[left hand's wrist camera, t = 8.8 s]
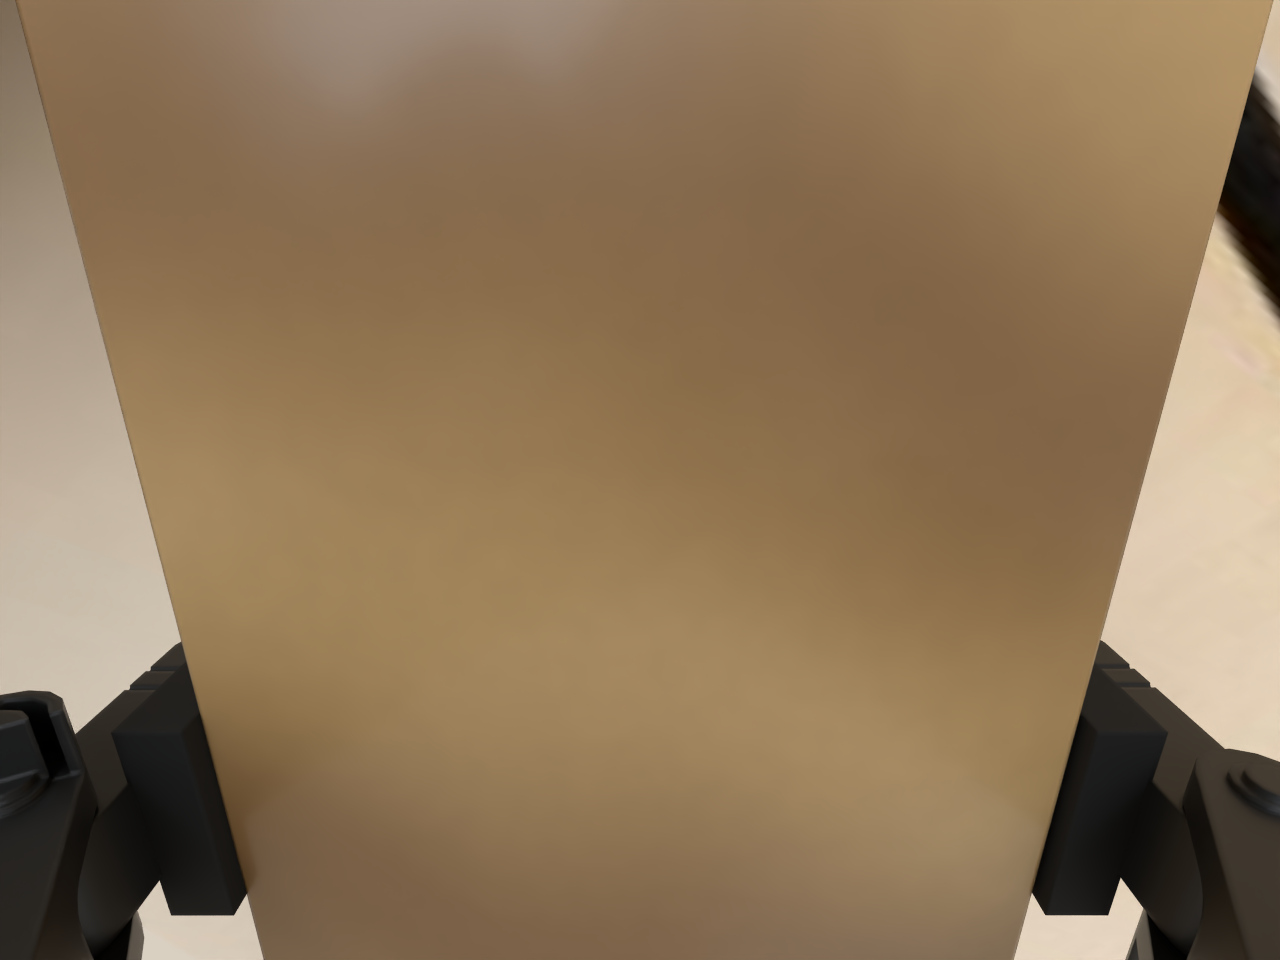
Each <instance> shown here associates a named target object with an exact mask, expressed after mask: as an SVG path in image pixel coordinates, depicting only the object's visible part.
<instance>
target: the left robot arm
mask: <svg viewBox="0 0 1280 960" xmlns="http://www.w3.org/2000/svg"><path fill="white" fill-rule="evenodd" d="M1120 878H1122V880H1123V881H1124V882H1125V884H1126V885H1127V887H1128V888H1129V889H1130V891H1131V892H1132V893H1133V895H1134V896H1135V897H1136V899H1137V900H1138V901H1139V903H1140V904H1141V905H1142V907H1143V911H1142V914H1141V917H1140V920H1139V923H1138V925H1137V928H1136V931H1135V934H1134V937H1133V940H1132V942H1131V945H1130V948H1129V951H1128V954H1127V957H1126V959H1125V960H1280V762H1278V761H1276V760H1273V759H1270V758H1267V757H1264V756H1262V755H1259V754H1255V753H1250V752H1245V751H1239V750H1234V749H1224V748H1223V747H1222V746H1221V745H1220V744H1219V743H1218V742H1216V741H1215V740H1214V739H1213V738H1212V737H1211V736H1210V735H1209V734H1207V733H1206V732H1205V731H1204V730H1203V729H1202V728H1201V727H1199V726H1198V725H1197V724H1196V723H1195V722H1194V721H1193V720H1192V719H1190V718H1189V717H1188V716H1187V715H1186V714H1185V713H1184V712H1183V711H1181V710H1180V709H1179V708H1178V707H1177V706H1176V705H1175V704H1174V703H1172V702H1171V701H1170V700H1169V699H1168V698H1167V697H1166V696H1164V695H1163V694H1162V693H1161V692H1160V691H1159V690H1158V689H1157V688H1151V686H1150V682H1149V681H1148V680H1146V679H1145V678H1144V677H1143V676H1142V675H1141V674H1140V673H1139V672H1137V671H1136V670H1135V669H1130V667H1129V664H1128V663H1127V662H1126V661H1125V660H1124V659H1123V658H1122V657H1120V656H1119V655H1118V654H1117V653H1116V652H1115V651H1114V650H1113V649H1111V648H1110V647H1109V646H1108V645H1107V644H1106V643H1105V642H1103V641H1101V640H1100V643H1099V646H1098V650H1097V654H1096V657H1095V661H1094V665H1093V668H1092V672H1091V676H1090V679H1089V683H1088V687H1087V691H1086V694H1085V698H1084V702H1083V705H1082V709H1081V713H1080V716H1079V720H1078V724H1077V727H1076V731H1075V735H1074V739H1073V742H1072V746H1071V750H1070V753H1069V757H1068V761H1067V764H1066V768H1065V772H1064V775H1063V779H1062V783H1061V787H1060V790H1059V794H1058V798H1057V801H1056V805H1055V809H1054V812H1053V816H1052V820H1051V823H1050V827H1049V831H1048V835H1047V838H1046V842H1045V846H1044V849H1043V853H1042V857H1041V860H1040V864H1039V868H1038V871H1037V875H1036V879H1035V883H1034V886H1033V890H1032V893H1033V895H1034V897H1035V898H1036V900H1037V902H1038V903H1039V905H1040V907H1041V908H1042V910H1043V912H1044V914H1045V915H1108V914H1109V911H1110V908H1111V905H1112V902H1113V899H1114V896H1115V893H1116V890H1117V887H1118V884H1119V881H1120ZM159 880H160V883H161V886H162V889H163V892H164V895H165V898H166V901H167V904H168V907H169V910H170V913H171V915H234V914H235V913H236V911H237V909H238V908H239V906H240V904H241V903H242V901H243V899H244V898H245V896H246V894H247V892H246V888H245V884H244V880H243V877H242V873H241V869H240V865H239V861H238V858H237V854H236V850H235V846H234V842H233V838H232V835H231V831H230V827H229V823H228V819H227V815H226V811H225V807H224V804H223V800H222V796H221V792H220V788H219V784H218V780H217V777H216V773H215V769H214V765H213V761H212V757H211V753H210V750H209V746H208V742H207V738H206V734H205V730H204V726H203V723H202V719H201V715H200V711H199V707H198V703H197V699H196V696H195V692H194V688H193V684H192V680H191V676H190V672H189V668H188V665H187V661H186V657H185V653H184V649H183V645H182V642H180V643H178V644H176V645H175V646H174V647H173V648H172V649H170V650H169V651H168V652H167V653H166V654H165V655H164V656H163V657H161V658H160V659H159V660H158V661H157V662H156V663H155V664H154V665H152V666H151V670H150V671H146V672H145V673H143V674H142V675H141V676H140V677H139V678H138V679H137V680H136V681H134V682H133V683H132V684H131V685H130V689H129V690H124V691H123V692H122V693H121V694H120V695H119V696H118V697H117V698H115V699H114V700H113V701H112V702H111V703H110V704H109V705H108V706H106V707H105V708H104V709H103V710H102V711H101V712H100V713H99V714H97V715H96V716H95V717H94V718H93V719H92V720H91V721H90V722H88V723H87V724H86V725H85V726H84V727H83V728H82V729H81V730H79V731H78V732H77V733H76V734H75V733H74V730H73V727H72V725H71V722H70V719H69V716H68V713H67V710H66V708H65V705H64V702H63V699H62V698H61V697H59V696H57V695H55V694H53V693H52V692H48V691H22V692H16V693H10V694H4V695H0V960H141V959H142V951H143V943H144V934H143V928H142V923H141V920H140V917H139V914H138V911H137V910H138V909H139V907H140V906H141V904H142V903H143V902H144V900H145V899H146V898H147V896H148V895H149V894H150V892H151V891H152V890H153V888H154V887H155V886H156V884H157V883H158V881H159Z"/></svg>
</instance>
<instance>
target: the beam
mask: <svg viewBox="0 0 1280 960" xmlns="http://www.w3.org/2000/svg"><path fill="white" fill-rule="evenodd" d="M16 4H17V8H18V12H19V16H20V20H21V24H22V27H23V31H24V35H25V39H26V43H27V47H28V51H29V54H30V58H31V62H32V66H33V70H34V74H35V78H36V81H37V85H38V89H39V93H40V97H41V101H42V105H43V109H44V112H45V116H46V120H47V124H48V128H49V132H50V136H51V139H52V143H53V147H54V151H55V155H56V159H57V163H58V166H59V170H60V174H61V178H62V182H63V186H64V190H65V193H66V197H67V201H68V205H69V209H70V213H71V217H72V220H73V224H74V228H75V232H76V236H77V240H78V244H79V248H80V251H81V255H82V259H83V263H84V267H85V271H86V275H87V278H88V282H89V286H90V290H91V294H92V298H93V302H94V305H95V309H96V313H97V317H98V321H99V325H100V329H101V332H102V336H103V340H104V344H105V348H106V352H107V356H108V360H109V363H110V367H111V371H112V375H113V379H114V383H115V387H116V390H117V394H118V398H119V402H120V406H121V410H122V414H123V417H124V421H125V425H126V429H127V433H128V437H129V441H130V444H131V448H132V452H133V456H134V460H135V464H136V468H137V472H138V475H139V479H140V483H141V487H142V491H143V495H144V499H145V502H146V506H147V510H148V514H149V518H150V522H151V526H152V529H153V533H154V537H155V541H156V545H157V549H158V553H159V556H160V560H161V564H162V568H163V572H164V576H165V580H166V584H167V587H168V591H169V595H170V599H171V603H172V607H173V611H174V614H175V618H176V622H177V626H178V630H179V634H180V638H181V641H182V645H183V649H184V653H185V657H186V661H187V665H188V668H189V672H190V676H191V680H192V684H193V688H194V692H195V696H196V699H197V703H198V707H199V711H200V715H201V719H202V723H203V726H204V730H205V734H206V738H207V742H208V746H209V750H210V753H211V757H212V761H213V765H214V769H215V773H216V777H217V780H218V784H219V788H220V792H221V796H222V800H223V804H224V807H225V811H226V815H227V819H228V823H229V827H230V831H231V835H232V838H233V842H234V846H235V850H236V854H237V858H238V861H239V865H240V869H241V873H242V877H243V880H244V884H245V888H246V892H247V896H248V900H249V904H250V908H251V912H252V916H253V919H254V923H255V927H256V931H257V935H258V939H259V943H260V947H261V950H262V954H263V958H264V960H1014V956H1015V953H1016V949H1017V945H1018V942H1019V938H1020V934H1021V931H1022V927H1023V923H1024V919H1025V916H1026V912H1027V908H1028V905H1029V901H1030V897H1031V894H1032V890H1033V886H1034V883H1035V879H1036V875H1037V871H1038V868H1039V864H1040V860H1041V857H1042V853H1043V849H1044V846H1045V842H1046V838H1047V835H1048V831H1049V827H1050V823H1051V820H1052V816H1053V812H1054V809H1055V805H1056V801H1057V798H1058V794H1059V790H1060V787H1061V783H1062V779H1063V775H1064V772H1065V768H1066V764H1067V761H1068V757H1069V753H1070V750H1071V746H1072V742H1073V739H1074V735H1075V731H1076V727H1077V724H1078V720H1079V716H1080V713H1081V709H1082V705H1083V702H1084V698H1085V694H1086V691H1087V687H1088V683H1089V679H1090V676H1091V672H1092V668H1093V665H1094V661H1095V657H1096V654H1097V650H1098V646H1099V643H1100V639H1101V635H1102V631H1103V628H1104V624H1105V620H1106V617H1107V613H1108V609H1109V606H1110V602H1111V598H1112V595H1113V591H1114V587H1115V583H1116V580H1117V576H1118V572H1119V569H1120V565H1121V561H1122V558H1123V554H1124V550H1125V547H1126V543H1127V539H1128V535H1129V532H1130V528H1131V524H1132V521H1133V517H1134V513H1135V510H1136V506H1137V502H1138V499H1139V495H1140V491H1141V487H1142V484H1143V480H1144V476H1145V473H1146V469H1147V465H1148V462H1149V458H1150V454H1151V451H1152V447H1153V443H1154V439H1155V436H1156V432H1157V428H1158V425H1159V421H1160V417H1161V414H1162V410H1163V406H1164V403H1165V399H1166V395H1167V391H1168V388H1169V384H1170V380H1171V377H1172V373H1173V369H1174V366H1175V362H1176V358H1177V355H1178V351H1179V347H1180V343H1181V340H1182V336H1183V332H1184V329H1185V325H1186V321H1187V318H1188V314H1189V310H1190V307H1191V303H1192V299H1193V295H1194V292H1195V288H1196V284H1197V281H1198V277H1199V273H1200V270H1201V266H1202V262H1203V259H1204V255H1205V251H1206V247H1207V244H1208V240H1209V236H1210V233H1211V229H1212V225H1213V222H1214V218H1215V214H1216V211H1217V207H1218V203H1219V199H1220V196H1221V192H1222V188H1223V185H1224V181H1225V177H1226V174H1227V170H1228V166H1229V163H1230V159H1231V155H1232V151H1233V148H1234V144H1235V140H1236V137H1237V133H1238V129H1239V126H1240V122H1241V118H1242V115H1243V111H1244V107H1245V103H1246V100H1247V96H1248V92H1249V89H1250V85H1251V81H1252V78H1253V74H1254V70H1255V67H1256V63H1257V59H1258V55H1259V52H1260V48H1261V44H1262V41H1263V37H1264V33H1265V30H1266V26H1267V22H1268V19H1269V15H1270V11H1271V8H1272V4H1273V0H16Z"/></svg>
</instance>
